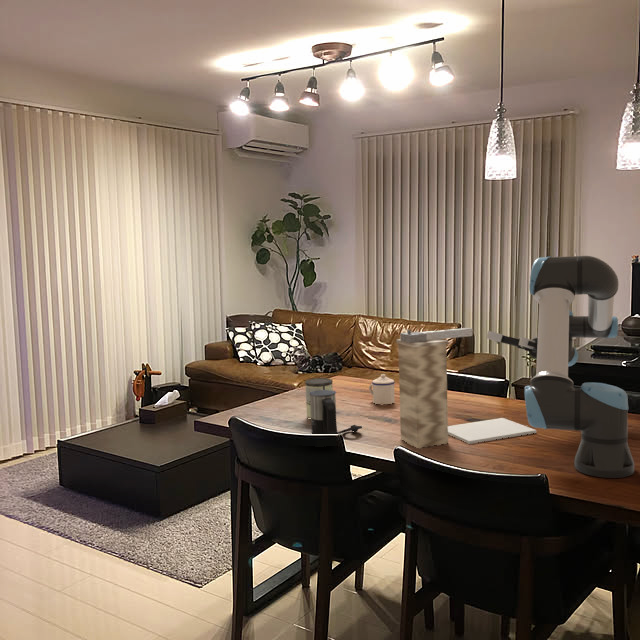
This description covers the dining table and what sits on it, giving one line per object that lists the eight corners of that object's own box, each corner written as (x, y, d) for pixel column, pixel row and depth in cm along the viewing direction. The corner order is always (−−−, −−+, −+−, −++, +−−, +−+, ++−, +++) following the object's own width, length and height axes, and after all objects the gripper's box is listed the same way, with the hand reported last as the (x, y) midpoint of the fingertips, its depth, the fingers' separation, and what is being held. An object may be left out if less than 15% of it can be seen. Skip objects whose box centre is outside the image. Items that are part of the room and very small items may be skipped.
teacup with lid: (399, 402, 270) (399, 374, 269) (385, 406, 264) (384, 377, 263) (377, 398, 279) (376, 370, 277) (362, 402, 272) (361, 374, 271)
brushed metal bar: (409, 342, 207) (409, 331, 207) (400, 340, 213) (400, 329, 212) (475, 336, 216) (475, 325, 215) (465, 334, 221) (465, 323, 221)
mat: (469, 444, 211) (468, 441, 211) (438, 430, 228) (438, 427, 228) (536, 433, 221) (536, 430, 220) (502, 420, 237) (502, 417, 237)
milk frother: (305, 434, 229) (303, 392, 227) (341, 426, 238) (340, 385, 237) (330, 443, 218) (328, 399, 216) (367, 434, 227) (366, 391, 225)
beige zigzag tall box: (416, 449, 208) (414, 344, 204) (398, 439, 219) (396, 339, 215) (450, 443, 212) (448, 340, 209) (430, 434, 223) (428, 336, 220)
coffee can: (309, 414, 257) (307, 377, 256) (335, 414, 255) (334, 377, 254) (304, 421, 247) (302, 383, 245) (331, 421, 245) (330, 383, 244)
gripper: (572, 366, 220) (532, 355, 208) (512, 353, 240) (472, 342, 229) (577, 344, 220) (537, 332, 208) (517, 333, 241) (478, 321, 229)
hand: (503, 337), depth 218 cm, fingers open, 13 cm apart
